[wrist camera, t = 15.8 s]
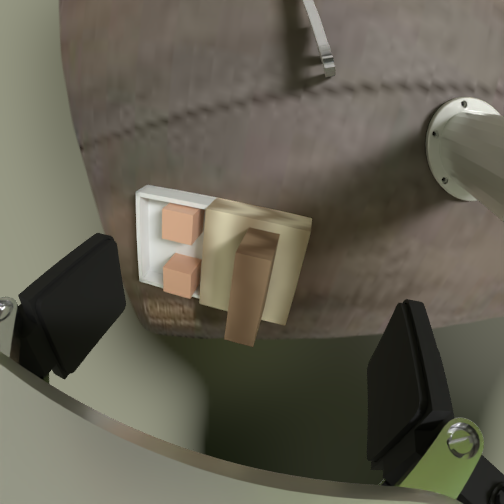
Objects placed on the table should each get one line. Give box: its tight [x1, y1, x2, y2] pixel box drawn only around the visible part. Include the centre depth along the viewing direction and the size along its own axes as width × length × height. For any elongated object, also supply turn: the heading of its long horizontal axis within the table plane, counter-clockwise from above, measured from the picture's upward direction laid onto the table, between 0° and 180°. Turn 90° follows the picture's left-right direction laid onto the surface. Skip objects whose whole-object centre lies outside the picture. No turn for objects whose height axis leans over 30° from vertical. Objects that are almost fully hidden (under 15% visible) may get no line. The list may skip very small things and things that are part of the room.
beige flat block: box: [199, 198, 312, 325], centre depth 39 cm, size 12×14×4 cm
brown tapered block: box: [224, 227, 280, 347], centre depth 35 cm, size 4×12×6 cm, turn 171°
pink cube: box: [162, 203, 205, 245], centre depth 38 cm, size 4×4×4 cm
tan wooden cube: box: [163, 253, 202, 299], centre depth 42 cm, size 4×4×4 cm
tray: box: [136, 185, 217, 299], centre depth 41 cm, size 10×14×3 cm
